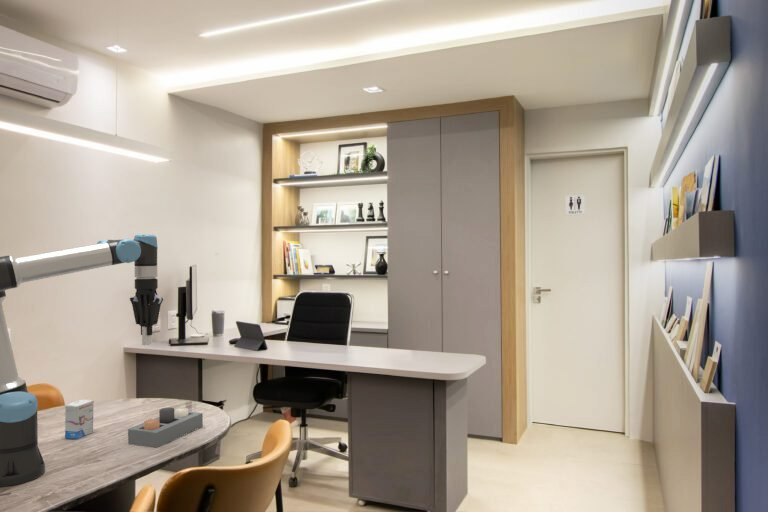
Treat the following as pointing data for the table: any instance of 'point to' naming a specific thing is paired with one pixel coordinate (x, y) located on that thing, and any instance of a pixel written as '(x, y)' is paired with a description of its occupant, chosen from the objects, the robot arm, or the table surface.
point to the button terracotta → (151, 424)
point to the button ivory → (181, 412)
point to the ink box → (79, 419)
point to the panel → (164, 431)
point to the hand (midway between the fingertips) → (146, 344)
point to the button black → (166, 415)
